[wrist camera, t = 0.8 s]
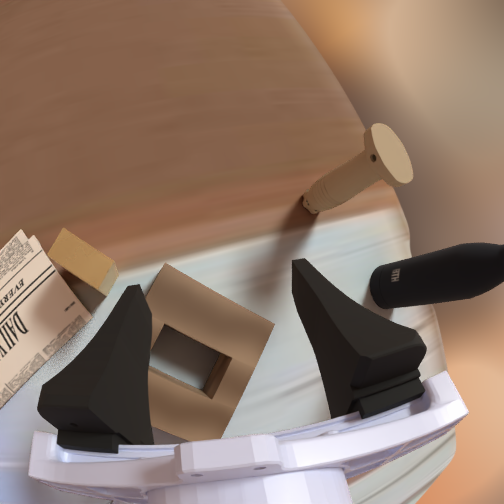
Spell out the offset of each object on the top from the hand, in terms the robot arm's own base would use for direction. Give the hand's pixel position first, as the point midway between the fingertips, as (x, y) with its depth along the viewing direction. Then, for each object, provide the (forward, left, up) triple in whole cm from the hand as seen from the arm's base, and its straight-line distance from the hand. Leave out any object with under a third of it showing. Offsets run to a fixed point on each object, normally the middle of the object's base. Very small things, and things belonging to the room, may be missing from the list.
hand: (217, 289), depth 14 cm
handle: (+20, -9, -18) cm, 28 cm away
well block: (-4, -3, -17) cm, 18 cm away
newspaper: (-14, +16, -18) cm, 28 cm away
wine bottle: (+16, -25, -18) cm, 35 cm away
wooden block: (-1, +9, -18) cm, 20 cm away
